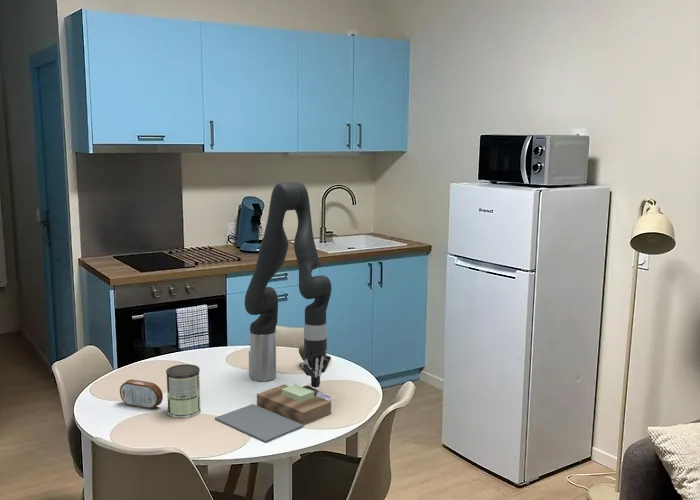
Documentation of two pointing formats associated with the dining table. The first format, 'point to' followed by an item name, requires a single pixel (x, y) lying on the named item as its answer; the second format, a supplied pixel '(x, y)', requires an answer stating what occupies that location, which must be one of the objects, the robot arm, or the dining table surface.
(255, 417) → the mat
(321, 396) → the mobile phone
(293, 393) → the sponge
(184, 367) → the coffee can
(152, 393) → the tin
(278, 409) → the walnut stand
